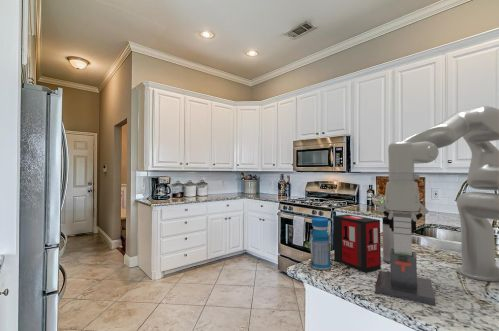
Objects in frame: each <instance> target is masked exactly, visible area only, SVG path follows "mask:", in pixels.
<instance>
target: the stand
mask: <svg viewBox="0 0 499 331" xmlns="http://www.w3.org/2000/svg"><path fill="white" fill-rule="evenodd" d="M389 265H390V267H389V268H390V270H389V271H384V270H378V275H377V278H376V281H375V285H374V293H375V294H380V295H384V296H389V297H394V298H398V299H402V300H408V301H413V302H417V303H420V304H421V303H422V304H425V305H431V306H436V296H435V292H434V287H433V282H432V279H429V278H424V277H418V269H417V267H418V265H417V252H416V251H413V250H412V257H411V256H404V255H397V254H394V249H391V252H390V264H389Z"/></svg>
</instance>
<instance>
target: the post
mask: <svg viewBox="0 0 499 331" xmlns="http://www.w3.org/2000/svg"><path fill="white" fill-rule="evenodd" d="M393 217H394V220H393V222H394V254H397V255H404V256H411V257H412V251H413V248H412V247H413V245H412V236H413V235H412V234H413V233H411V220H412V216H411V214H410V212H399V211H394V213H393Z"/></svg>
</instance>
